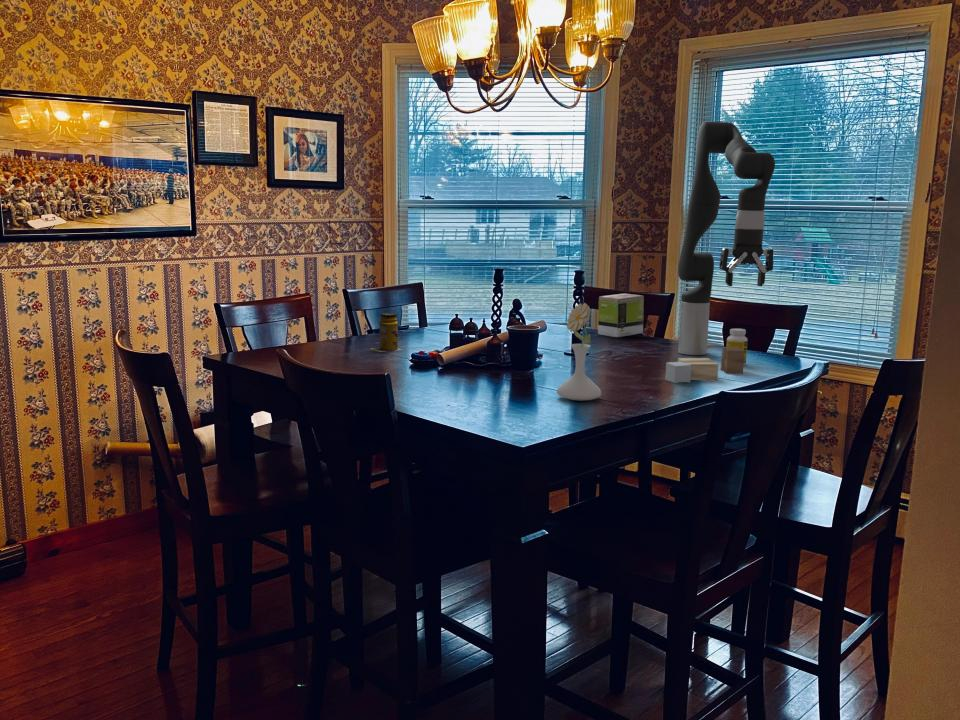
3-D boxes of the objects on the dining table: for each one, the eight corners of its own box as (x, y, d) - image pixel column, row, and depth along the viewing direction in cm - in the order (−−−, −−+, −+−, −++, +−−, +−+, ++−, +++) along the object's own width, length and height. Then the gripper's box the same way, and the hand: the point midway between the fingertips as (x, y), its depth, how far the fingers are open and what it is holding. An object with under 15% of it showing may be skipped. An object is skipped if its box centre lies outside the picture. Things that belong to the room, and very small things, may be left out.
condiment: (402, 350, 278) (402, 314, 276) (380, 352, 273) (380, 316, 271) (391, 346, 284) (391, 311, 282) (369, 349, 279) (369, 313, 277)
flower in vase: (553, 393, 219) (556, 298, 214) (596, 393, 220) (600, 298, 215) (561, 405, 206) (564, 305, 202) (607, 405, 207) (611, 305, 202)
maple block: (676, 374, 246) (677, 358, 245) (707, 374, 247) (708, 358, 246) (686, 381, 237) (687, 364, 236) (717, 381, 238) (718, 364, 237)
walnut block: (720, 370, 253) (722, 347, 251) (737, 370, 253) (738, 347, 252) (726, 373, 248) (727, 350, 246) (742, 373, 248) (744, 350, 247)
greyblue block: (665, 379, 238) (666, 362, 237) (680, 378, 240) (681, 361, 239) (674, 383, 234) (675, 365, 233) (690, 382, 235) (691, 365, 234)
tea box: (623, 330, 326) (624, 292, 323) (643, 334, 318) (645, 295, 315) (596, 334, 316) (598, 295, 313) (617, 338, 309) (619, 298, 306)
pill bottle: (746, 366, 258) (749, 331, 256) (726, 365, 259) (728, 330, 257) (744, 363, 264) (747, 328, 262) (724, 362, 265) (726, 327, 263)
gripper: (769, 226, 234) (764, 284, 237) (719, 226, 233) (715, 284, 237) (780, 228, 227) (774, 288, 230) (728, 227, 226) (723, 287, 229)
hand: (744, 286), depth 233 cm, fingers open, 8 cm apart
